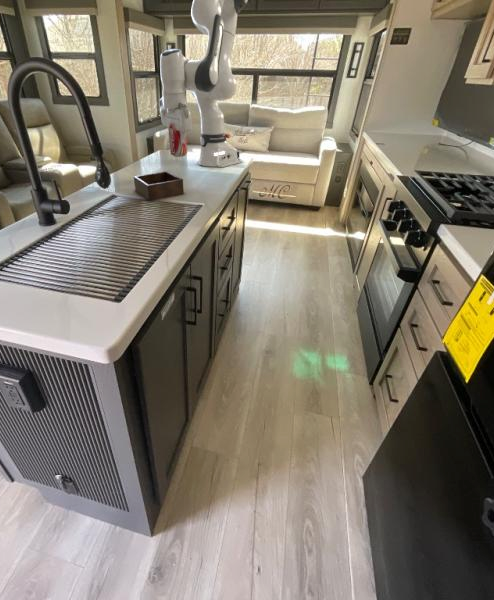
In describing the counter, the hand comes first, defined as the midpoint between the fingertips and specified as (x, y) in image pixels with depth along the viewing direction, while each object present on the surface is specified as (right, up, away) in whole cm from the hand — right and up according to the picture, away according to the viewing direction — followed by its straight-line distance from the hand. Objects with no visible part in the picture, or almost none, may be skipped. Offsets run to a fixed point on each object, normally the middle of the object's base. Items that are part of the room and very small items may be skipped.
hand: (177, 141), depth 134 cm
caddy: (-7, -22, -2) cm, 23 cm away
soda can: (0, -4, +3) cm, 6 cm away
